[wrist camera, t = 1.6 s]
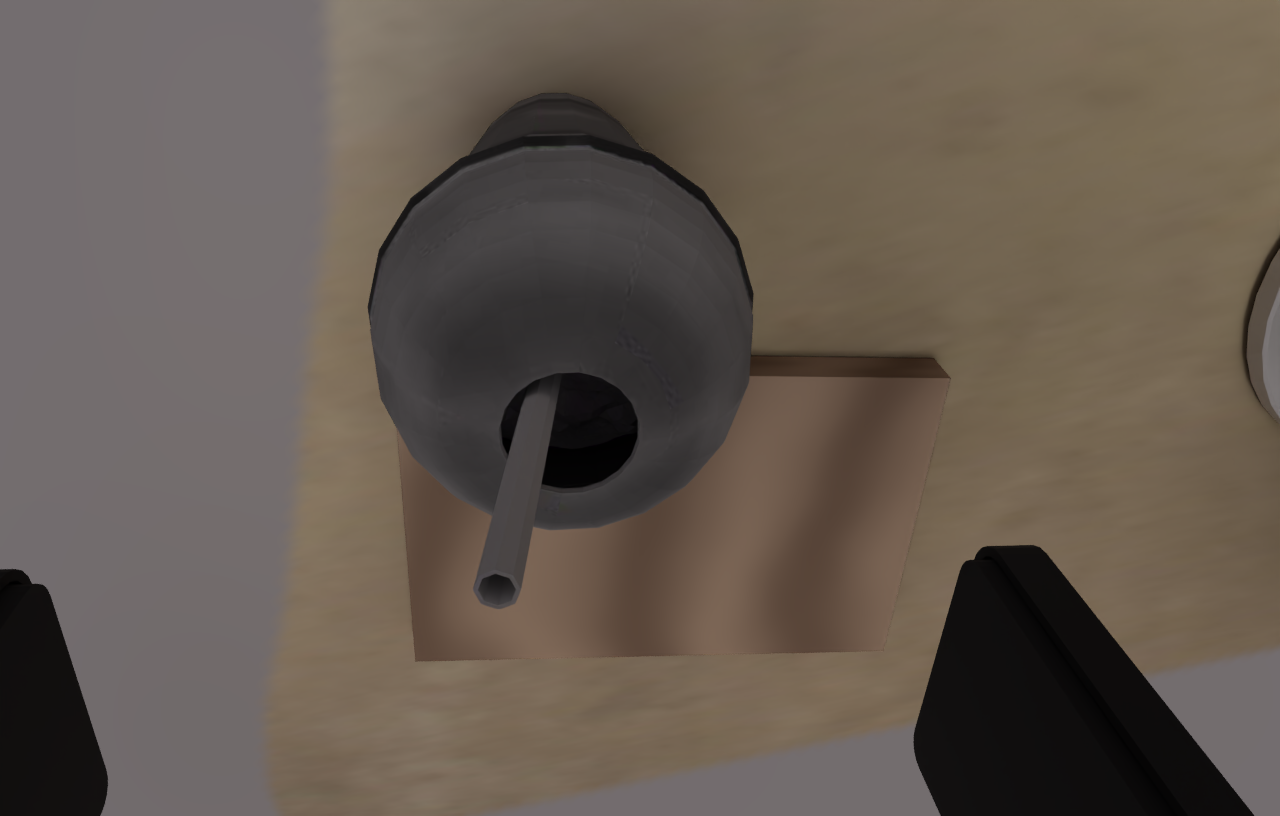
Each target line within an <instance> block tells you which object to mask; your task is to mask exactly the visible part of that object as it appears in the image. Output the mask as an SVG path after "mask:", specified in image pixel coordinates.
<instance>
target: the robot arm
mask: <svg viewBox="0 0 1280 816" xmlns="http://www.w3.org/2000/svg"><path fill="white" fill-rule="evenodd" d="M1247 361H1248V367H1249V373H1250V378H1251V383H1252V385H1253V387H1254V389H1255V392H1256V394H1257V396H1258V398H1259V400H1260V402H1261V404H1262V406H1263V407H1264V408H1265V409H1266V410H1267V411H1268V412H1269V414H1270V415H1271V416H1272V417H1273V418H1274V419H1275V420H1276V421H1277V423H1279V424H1280V249H1279V251H1278V252H1277V254H1276V255H1275V257H1274V259H1273V260H1272V262H1271V264H1270V266H1269V269H1268V271H1267V273H1266V275H1265V277H1264V280H1263V282H1262V284H1261V286H1260V288H1259V291H1258V293H1257V295H1256V299H1255V303H1254V307H1253V311H1252V315H1251V318H1250V322H1249V326H1248V341H1247ZM914 751H915V756H916V761H917V763H918V766H919V769H920V771H921V773H922V775H923V777H924V780H925V782H926V784H927V786H928V789H929V790H930V793H931V795H932V797H933V800H934V802H935V804H936V806H937V808H938V810H939V813H940V815H941V816H1254V815H1253V813H1252V812H1251V811H1250V810H1249V808H1248V807H1247V806H1246V804H1245V803H1244V802H1243V801H1242V799H1241V798H1240V797H1239V796H1238V794H1237V793H1236V792H1235V791H1234V789H1233V788H1232V787H1231V786H1230V784H1229V783H1228V782H1227V781H1226V779H1225V778H1224V777H1223V775H1222V774H1221V773H1220V772H1219V770H1218V769H1217V768H1216V767H1215V765H1214V764H1213V763H1212V762H1211V760H1210V759H1209V758H1208V757H1207V755H1206V754H1205V753H1204V752H1203V750H1202V749H1201V748H1200V747H1199V745H1198V744H1197V743H1196V742H1195V740H1194V739H1193V738H1192V736H1191V735H1190V734H1189V733H1188V731H1187V730H1186V729H1185V728H1184V726H1183V725H1182V724H1181V723H1180V721H1179V720H1178V719H1177V717H1176V716H1175V715H1174V714H1173V712H1172V711H1171V710H1170V709H1169V707H1168V706H1167V705H1166V704H1165V702H1164V701H1163V700H1162V699H1161V697H1160V696H1159V695H1158V694H1157V692H1156V691H1155V690H1154V688H1152V686H1151V685H1150V683H1149V682H1148V681H1147V680H1146V678H1145V677H1144V676H1143V675H1142V673H1141V672H1140V671H1139V670H1138V668H1137V667H1136V666H1135V664H1134V663H1133V662H1132V661H1131V659H1130V658H1129V657H1128V656H1127V654H1126V653H1125V652H1124V651H1123V649H1122V648H1121V647H1120V646H1119V644H1118V643H1117V642H1116V641H1115V639H1114V638H1113V637H1112V635H1111V634H1110V633H1109V632H1108V630H1107V629H1106V628H1105V627H1104V625H1103V624H1102V623H1101V622H1100V620H1099V619H1098V618H1097V617H1096V615H1095V614H1094V613H1093V612H1092V610H1091V609H1090V608H1089V606H1088V605H1087V604H1086V603H1085V601H1084V600H1083V599H1082V598H1081V596H1080V595H1079V594H1078V593H1077V591H1076V590H1075V589H1074V588H1073V586H1072V585H1071V584H1070V583H1069V581H1068V580H1067V579H1066V577H1065V576H1064V575H1063V574H1062V572H1061V571H1060V570H1059V569H1058V567H1057V566H1056V565H1055V564H1054V562H1053V561H1052V560H1051V559H1050V557H1049V556H1048V555H1047V554H1046V553H1045V552H1044V551H1043V550H1042V549H1041V548H1040V547H1037V546H1034V545H1019V546H987V547H983V548H981V549H980V550H979V551H978V552H977V554H976V557H975V559H974V560H968V561H966V562H965V563H964V564H963V565H962V567H961V570H960V573H959V576H958V580H957V583H956V587H955V590H954V594H953V597H952V601H951V604H950V608H949V611H948V615H947V618H946V622H945V625H944V629H943V632H942V636H941V639H940V643H939V646H938V650H937V653H936V657H935V661H934V664H933V668H932V671H931V675H930V678H929V682H928V685H927V689H926V692H925V696H924V699H923V703H922V706H921V710H920V713H919V717H918V720H917V724H916V727H915V732H914ZM107 787H108V776H107V771H106V768H105V765H104V761H103V758H102V755H101V752H100V749H99V746H98V742H97V740H96V737H95V733H94V730H93V727H92V724H91V721H90V717H89V715H88V711H87V708H86V705H85V702H84V699H83V696H82V693H81V690H80V686H79V683H78V681H77V677H76V674H75V671H74V668H73V665H72V661H71V658H70V655H69V652H68V649H67V646H66V643H65V640H64V637H63V634H62V630H61V627H60V624H59V621H58V618H57V615H56V612H55V609H54V605H53V602H52V599H51V596H50V594H49V592H48V590H47V589H46V587H45V586H44V585H41V584H32V583H31V581H30V579H29V577H28V576H27V575H26V574H25V573H24V572H23V571H21V570H16V569H3V570H0V816H100V815H101V813H102V810H103V807H104V804H105V800H106V796H107Z"/></svg>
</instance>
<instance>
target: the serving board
mask: <svg viewBox="0 0 1280 816" xmlns="http://www.w3.org/2000/svg"><path fill="white" fill-rule="evenodd" d="M950 379H951V378H950V377H949V376H948V374H947V373H946V372H945V371H944V370H943V369H942V367H941V366H940V365H939V364H938V363H937V361H936V360H935V359H934V358H859V357H782V356H751V359H750V375H749V384H748V386H747V389H746V391H745V394H744V396H743V399H742V401H741V403H740V406H739V408H738V411H737V413H736V415H735V418H734V420H733V422H732V425H731V427H730V430H729V432H728V434H727V437H726V439H725V442H724V443H723V444H722V445H721V446H720V448H719V449H718V450H717V451H716V452H715V453H714V455H713V456H712V457H711V458H710V459H709V460H708V462H707V463H706V464H705V465H704V466H703V467H702V469H701V470H700V471H699V472H698V473H697V474H696V476H695V477H694V478H693V479H692V480H691V481H690V482H689V483H688V484H687V485H686V486H685V487H684V488H682V489H681V490H679V491H678V492H676V493H675V494H673V495H671V496H670V497H668V498H667V499H665V500H664V501H662V502H661V503H659V504H658V505H656V506H655V507H653V508H651V509H650V510H648V511H647V512H645V513H643V514H640V515H637V516H634V517H630V518H627V519H624V520H621V521H618V522H615V523H612V524H609V525H605V526H602V527H599V528H585V529H566V530H545V529H540V528H535V527H533V530H532V535H531V541H530V546H529V551H528V556H527V562H526V567H525V572H524V577H523V583H522V588H521V591H520V593H519V596H518V598H517V600H516V603H515V604H513V605H510V606H508V607H505V608H502V609H499V610H498V609H495V608H492V607H489V606H486V605H482V604H481V603H480V601H479V600H478V598H477V596H476V595H475V593H474V591H473V587H474V583H475V579H476V576H477V572H478V568H479V564H480V561H481V557H482V553H483V549H484V545H485V542H486V538H487V534H488V530H489V527H490V523H491V519H492V516H491V515H489V514H487V513H485V512H483V511H481V510H479V509H477V508H475V507H474V506H472V505H470V504H468V503H466V502H464V501H462V500H460V499H458V498H456V497H455V496H454V495H453V494H451V493H450V492H449V491H448V490H447V489H446V488H445V487H444V486H443V485H442V484H440V483H439V482H438V481H437V480H436V479H435V478H434V477H433V476H432V475H431V474H430V473H429V472H428V471H427V470H426V469H425V468H424V467H423V466H422V465H420V464H419V463H418V462H417V461H416V460H415V459H414V458H413V457H412V455H411V453H410V452H409V450H408V448H407V446H406V444H405V442H404V440H403V439H402V437H401V435H400V433H399V431H398V429H397V435H398V448H399V460H400V473H401V485H402V498H403V511H404V523H405V536H406V548H407V561H408V574H409V586H410V599H411V611H412V624H413V637H414V649H415V661H455V660H500V659H545V658H590V657H634V656H679V655H724V654H769V653H814V652H859V651H884V648H885V644H886V640H887V636H888V632H889V628H890V624H891V619H892V615H893V611H894V607H895V603H896V599H897V595H898V591H899V587H900V583H901V579H902V575H903V571H904V567H905V562H906V558H907V554H908V550H909V546H910V542H911V538H912V534H913V530H914V526H915V522H916V518H917V514H918V510H919V505H920V501H921V497H922V493H923V489H924V485H925V481H926V477H927V473H928V469H929V465H930V461H931V457H932V453H933V449H934V444H935V440H936V436H937V432H938V428H939V424H940V420H941V416H942V412H943V408H944V404H945V400H946V396H947V392H948V387H949V383H950Z"/></svg>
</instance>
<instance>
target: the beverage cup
mask: <svg viewBox="0 0 1280 816" xmlns="http://www.w3.org/2000/svg"><path fill="white" fill-rule="evenodd" d="M752 307H753V290H752V287H751V283H750V280H749V276H748V273H747V269H746V266H745V262H744V259H743V255H742V252H741V248H740V244H739V241H738V238H737V237H736V236H735V234H734V233H733V231H732V230H731V229H730V227H729V226H728V224H727V223H726V222H725V220H724V219H723V217H722V216H721V214H720V213H719V212H718V210H717V209H716V207H715V206H714V205H713V203H712V202H711V200H710V199H709V197H708V196H707V195H706V193H705V192H704V191H703V190H702V189H701V188H699V187H698V186H696V185H695V184H694V183H692V182H691V181H690V180H688V179H687V178H685V177H684V176H683V175H681V174H680V173H678V172H677V171H676V170H674V169H673V168H671V167H670V166H669V165H667V164H666V163H664V162H663V161H662V160H660V159H659V158H657V157H656V156H655V155H653V154H651V153H648V152H644V151H643V150H642V149H641V147H640V146H639V145H638V144H637V143H636V141H635V140H634V139H633V138H632V137H631V136H630V134H629V133H628V132H627V131H626V130H625V128H624V127H623V126H622V125H621V124H620V123H619V121H617V120H616V119H615V118H613V117H612V116H610V115H609V114H608V113H606V112H605V111H604V110H602V109H601V108H599V107H598V106H597V105H595V104H594V103H593V102H591V101H589V100H586V99H583V98H580V97H577V96H574V95H570V94H567V93H549V94H539V95H536V96H534V97H531V98H528V99H525V100H523V101H520V102H518V103H517V104H515V105H514V106H513V107H512V108H510V109H509V110H508V111H507V112H505V113H504V114H503V115H502V116H500V117H499V118H498V119H497V120H496V121H495V122H493V123H492V124H491V125H490V127H489V128H488V129H487V131H486V132H485V134H484V135H483V136H482V138H481V139H480V141H479V142H478V143H477V145H476V146H475V148H474V149H473V150H472V152H471V153H470V155H469V156H466V157H463V158H461V159H459V160H458V161H457V162H456V163H454V164H453V165H452V166H451V167H449V168H448V169H447V170H446V171H444V172H443V173H442V174H441V175H439V176H438V177H437V178H436V179H434V180H433V181H432V182H431V183H429V184H428V185H427V186H426V187H424V188H423V189H422V190H421V191H419V192H418V193H417V194H416V195H414V196H413V197H412V198H411V199H410V201H409V202H408V204H407V205H406V207H405V209H404V210H403V212H402V214H401V215H400V217H399V218H398V220H397V222H396V223H395V225H394V227H393V228H392V230H391V231H390V233H389V235H388V236H387V238H386V240H385V241H384V243H383V244H382V246H381V248H380V249H379V253H378V258H377V263H376V268H375V273H374V278H373V283H372V288H371V293H370V298H369V303H368V312H369V319H370V325H371V329H370V331H371V338H372V345H373V351H374V358H375V364H376V371H377V377H378V383H379V390H380V396H381V400H382V402H383V403H384V405H385V407H386V409H387V411H388V413H389V415H390V416H391V418H392V420H393V422H394V424H395V426H396V428H397V429H398V431H399V433H400V435H401V437H402V439H403V440H404V442H405V444H406V446H407V448H408V450H409V452H410V453H411V455H412V457H413V458H414V459H415V460H416V461H417V462H418V463H419V464H420V465H422V466H423V467H424V468H425V469H426V470H427V471H428V472H429V473H430V474H431V475H432V476H433V477H434V478H435V479H436V480H437V481H438V482H439V483H440V484H442V485H443V486H444V487H445V488H446V489H447V490H448V491H449V492H450V493H451V494H453V495H454V496H455V497H456V498H458V499H460V500H462V501H464V502H466V503H468V504H470V505H472V506H474V507H475V508H477V509H479V510H481V511H483V512H485V513H487V514H489V515H491V516H492V519H491V523H490V527H489V530H488V534H487V538H486V542H485V545H484V549H483V553H482V557H481V561H480V564H479V568H478V572H477V576H476V579H475V583H474V587H473V591H474V593H475V595H476V596H477V598H478V600H479V601H480V603H481V604H482V605H486V606H489V607H492V608H495V609H498V610H499V609H502V608H505V607H508V606H510V605H513V604H515V603H516V600H517V598H518V596H519V593H520V591H521V588H522V583H523V577H524V572H525V567H526V562H527V556H528V551H529V546H530V541H531V535H532V530H533V527H535V528H540V529H545V530H566V529H585V528H599V527H602V526H605V525H609V524H612V523H615V522H618V521H621V520H624V519H627V518H630V517H634V516H637V515H640V514H643V513H645V512H647V511H648V510H650V509H651V508H653V507H655V506H656V505H658V504H659V503H661V502H662V501H664V500H665V499H667V498H668V497H670V496H671V495H673V494H675V493H676V492H678V491H679V490H681V489H682V488H684V487H685V486H686V485H687V484H688V483H689V482H690V481H691V480H692V479H693V478H694V477H695V476H696V474H697V473H698V472H699V471H700V470H701V469H702V467H703V466H704V465H705V464H706V463H707V462H708V460H709V459H710V458H711V457H712V456H713V455H714V453H715V452H716V451H717V450H718V449H719V448H720V446H721V445H722V444H723V443H724V442H725V439H726V437H727V434H728V432H729V430H730V427H731V425H732V422H733V420H734V418H735V415H736V413H737V411H738V408H739V406H740V403H741V401H742V399H743V396H744V394H745V391H746V389H747V386H748V384H749V375H750V359H751V344H752V328H753V314H752Z"/></svg>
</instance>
